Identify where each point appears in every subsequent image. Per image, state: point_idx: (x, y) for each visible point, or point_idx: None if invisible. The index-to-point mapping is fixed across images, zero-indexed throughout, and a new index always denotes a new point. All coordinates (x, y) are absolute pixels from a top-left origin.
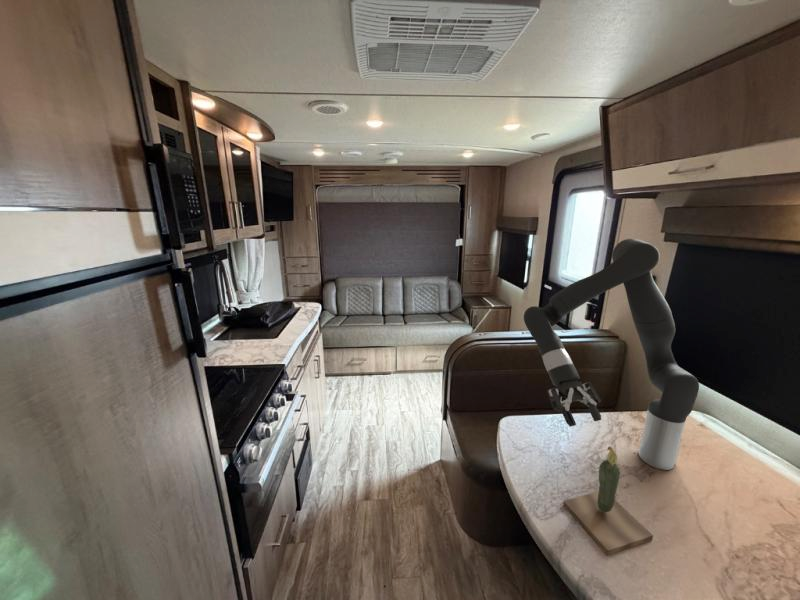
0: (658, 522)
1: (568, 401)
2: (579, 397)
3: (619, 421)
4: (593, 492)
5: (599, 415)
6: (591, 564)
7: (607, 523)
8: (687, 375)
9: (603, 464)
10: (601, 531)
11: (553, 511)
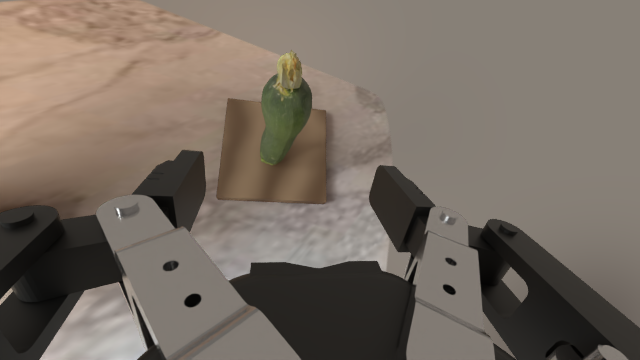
0: (177, 118)
1: (458, 243)
2: (285, 278)
3: None
4: (248, 198)
5: (179, 158)
6: (354, 116)
7: None
8: None
9: (308, 100)
10: (309, 133)
11: (349, 199)
